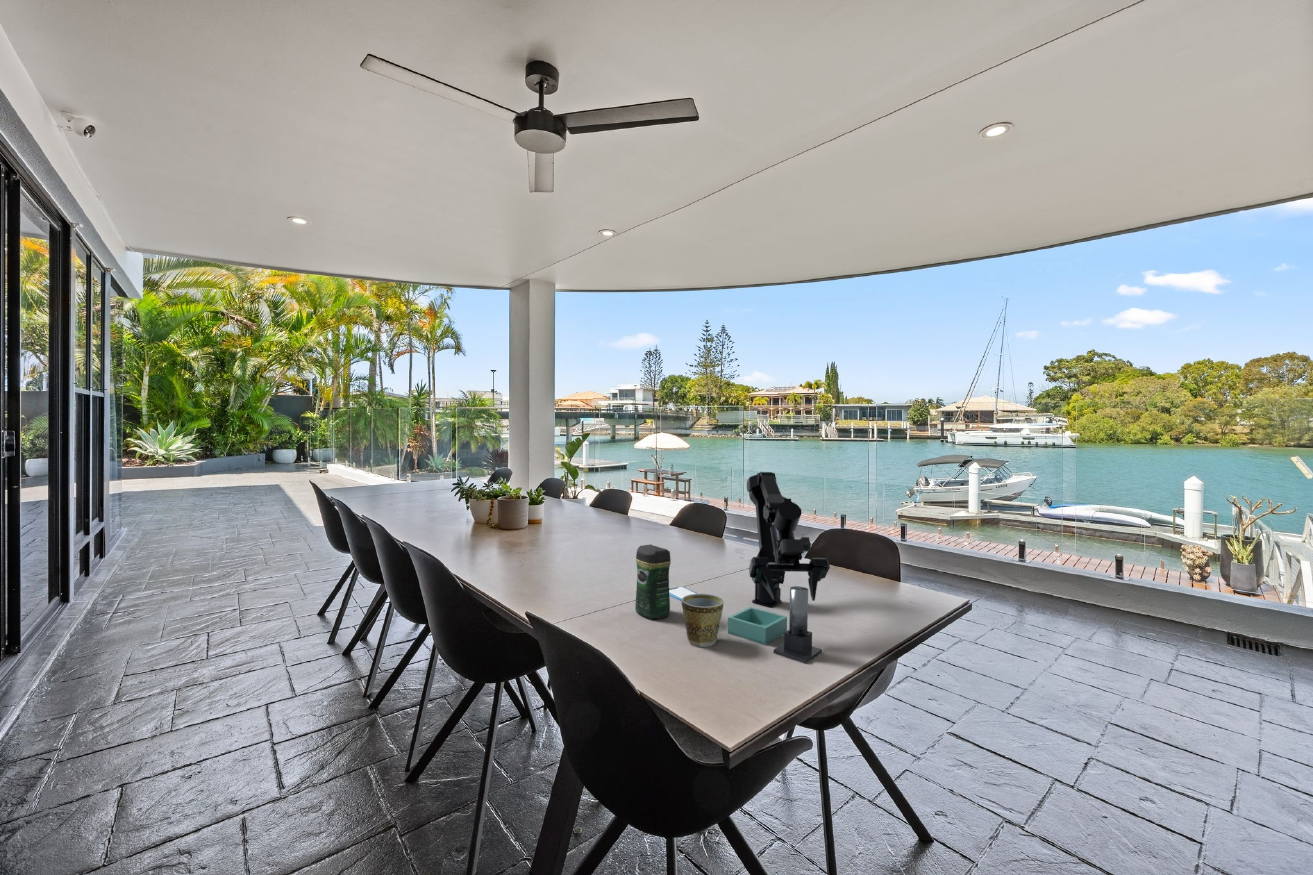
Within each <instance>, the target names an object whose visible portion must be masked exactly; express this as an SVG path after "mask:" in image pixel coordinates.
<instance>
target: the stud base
mask: <svg viewBox="0 0 1313 875" xmlns="http://www.w3.org/2000/svg"><path fill="white" fill-rule="evenodd" d="M801 637H803V636H801ZM822 653H823V649H822V648H820V647H816V646H814V645H812V650H810V651H809V652H807V653H806V654H804V655H799V654H796V653H793V652H790V651H787V650H784V643H782V644H781V645H779V646H777V647H775V648H773V654H775V655H778V656H781V657H784V658H787V659H790V660H793V661H795V662H800V663H803V664H805V665H807V664H808V663H809V662H811V661H813V660H814V659H815V658H816V657H818V656H819V655H821V654H822Z"/></svg>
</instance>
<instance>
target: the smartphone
mask: <svg viewBox="0 0 1313 875" xmlns="http://www.w3.org/2000/svg"><path fill="white" fill-rule="evenodd" d="M691 594H699V593H697V592H695V591H693V590H691V589H689V588H687V587H685V586H677V587H672V588H669V597H672V598H673V599H675V600H679V601H680V602H682V598H683V597H685V596H687V595H691Z"/></svg>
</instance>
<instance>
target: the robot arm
mask: <svg viewBox="0 0 1313 875" xmlns="http://www.w3.org/2000/svg"><path fill="white" fill-rule="evenodd" d="M746 491H747V493H748V496H749V499H750V501H751V502H752V503H753V505H754V506H755V514H756V516H755V517H756V526H757V527H756V528H757V536H758V538H757V539H758V546H759V547H758V549H759V551H758V553H757V555H756V556H753V557H752V558H751V560H750V563H749V567H748V572H749V577H750V579H751V581H752V582H753V583H754V598H753V599H752V600H751V603H754V604H756V605H762V606H764V607H769V608H773V607H775V606H777V605H778V604H779V605H780V604H781V603H783V602H782V600H781V595H782V594H781V592H782V589H781V588H780V584H781V585H783V584H784V583H785V574H786V572H790V573H791V572H792V573H793V572H794V573H795V572H800V573H801V572H803V573H807V576H808V580H807V581H808V582H807V583H808V587H809V588H808V589H809V592H810V597H811V600H812V601H813V602H815V600H816V596H817V589H818V582H821V581H822V580H823V579H826V577H827V575H828V572H829V570H830V567H831V566H830V563H829V560H828V559H827V558H826V557H810V560H809V563H806V562H804V563H803V562H802V563H801V562H800V561H801V560H802V559H803V555H802V554H804V553H805V552H809V551H811V549H812V548H811V547H812V546H811V540H810V537H809V536H805V537H803V536H801V538H798V539H797V538H796V537H795V533H794V531H796V530H797V529H798V528H797V527H798V525H799V521H800V518H801V517H802V513H803V512H802V508H801V507H800V506H799V505H798V504H796V503H795V502H793V501H792V498H787V497H785V496H783V495H782V493H781V491H780V488H779V485H778V483H777V477H776V474H775V472H773V471H760V472H757V473H756V474H755V475H752V476H749V478H748V479H747V480H746Z"/></svg>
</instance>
